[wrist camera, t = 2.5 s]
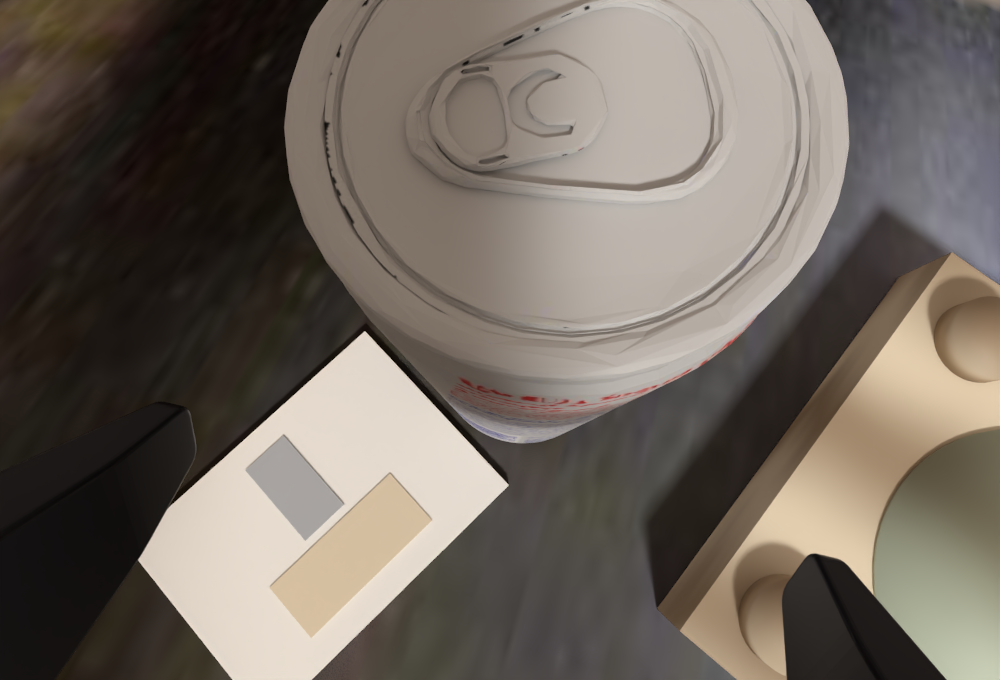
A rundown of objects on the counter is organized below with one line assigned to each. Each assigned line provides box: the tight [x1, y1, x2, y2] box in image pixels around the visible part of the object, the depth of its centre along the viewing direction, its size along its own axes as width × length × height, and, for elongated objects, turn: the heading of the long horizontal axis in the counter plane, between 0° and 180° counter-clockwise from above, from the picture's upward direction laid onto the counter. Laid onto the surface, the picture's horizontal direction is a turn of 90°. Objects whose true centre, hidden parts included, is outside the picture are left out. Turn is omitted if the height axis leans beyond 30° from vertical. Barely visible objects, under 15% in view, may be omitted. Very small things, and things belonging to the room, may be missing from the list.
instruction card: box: [138, 331, 509, 680], centre depth 19 cm, size 10×7×1 cm
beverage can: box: [284, 0, 849, 443], centre depth 13 cm, size 6×6×15 cm
